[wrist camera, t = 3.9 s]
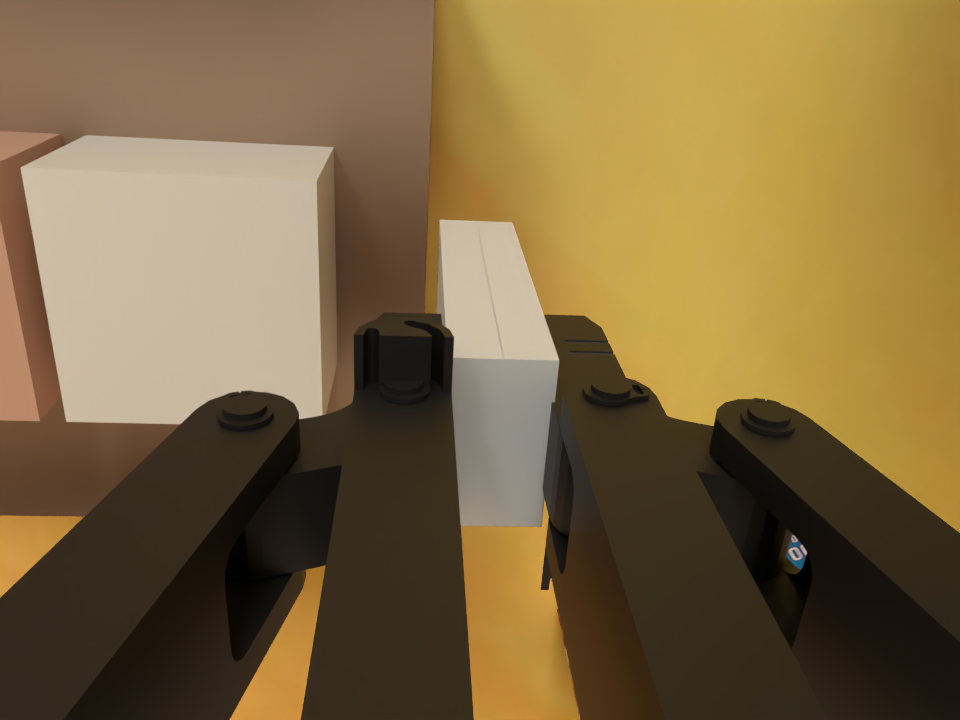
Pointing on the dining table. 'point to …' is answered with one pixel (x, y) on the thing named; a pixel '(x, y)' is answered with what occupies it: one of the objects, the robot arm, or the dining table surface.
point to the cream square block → (185, 273)
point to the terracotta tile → (23, 290)
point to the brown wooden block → (228, 118)
